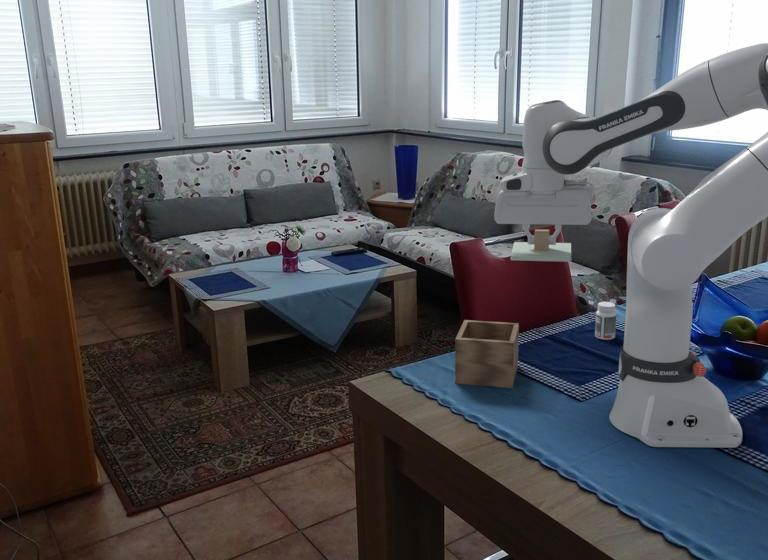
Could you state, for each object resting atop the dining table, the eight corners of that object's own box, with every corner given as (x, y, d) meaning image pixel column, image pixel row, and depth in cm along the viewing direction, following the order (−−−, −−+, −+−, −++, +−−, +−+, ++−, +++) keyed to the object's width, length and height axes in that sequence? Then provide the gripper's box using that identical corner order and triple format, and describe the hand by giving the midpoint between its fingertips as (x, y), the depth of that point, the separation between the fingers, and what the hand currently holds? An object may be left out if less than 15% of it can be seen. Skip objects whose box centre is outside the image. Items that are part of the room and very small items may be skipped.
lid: (570, 247, 162) (571, 225, 160) (571, 261, 150) (571, 238, 149) (514, 246, 165) (514, 224, 163) (510, 260, 153) (510, 237, 152)
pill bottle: (617, 335, 178) (619, 302, 176) (612, 341, 174) (614, 308, 172) (598, 332, 180) (599, 300, 178) (592, 338, 177) (594, 305, 174)
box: (517, 365, 162) (518, 323, 159) (512, 388, 151) (513, 343, 148) (464, 361, 165) (464, 319, 162) (455, 383, 154) (455, 339, 151)
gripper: (594, 177, 154) (591, 241, 157) (496, 178, 158) (496, 240, 162) (595, 182, 148) (592, 248, 152) (493, 182, 153) (493, 246, 156)
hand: (541, 244), depth 157 cm, fingers closed on lid, 3 cm apart
